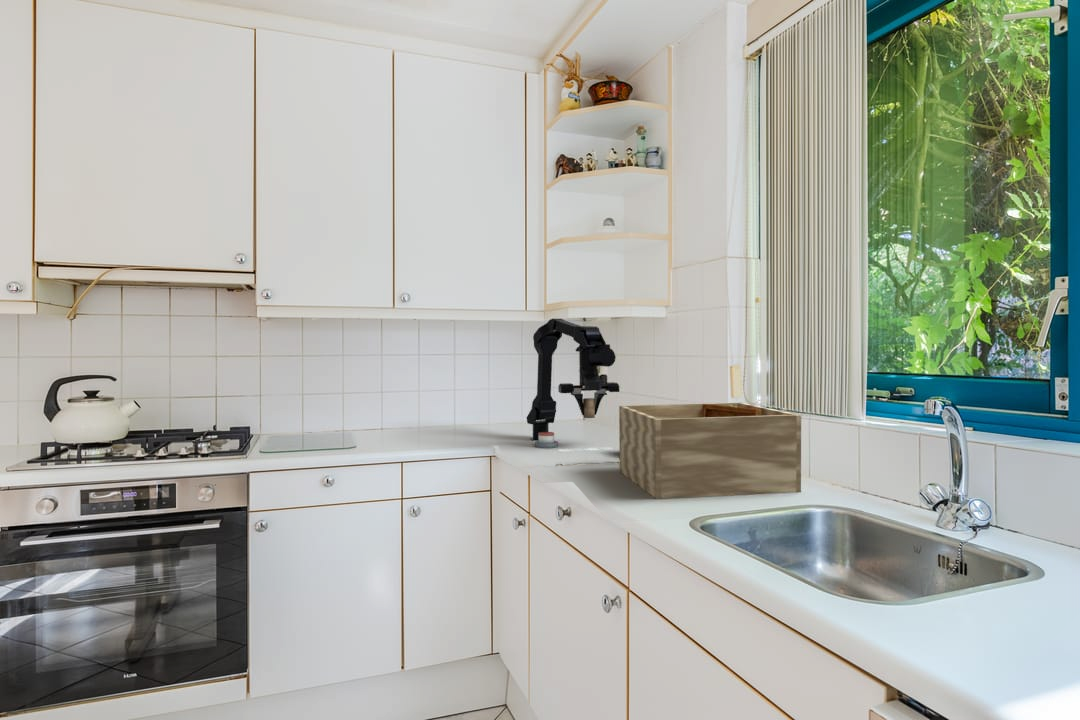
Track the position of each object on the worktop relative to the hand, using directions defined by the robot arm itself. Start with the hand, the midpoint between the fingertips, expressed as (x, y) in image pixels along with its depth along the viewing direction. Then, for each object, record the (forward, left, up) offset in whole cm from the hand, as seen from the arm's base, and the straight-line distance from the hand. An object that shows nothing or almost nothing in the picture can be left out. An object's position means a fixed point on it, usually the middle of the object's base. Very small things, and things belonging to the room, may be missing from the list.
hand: (589, 414), depth 193 cm
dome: (-8, -13, -10) cm, 18 cm away
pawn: (0, 0, -1) cm, 1 cm away
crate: (+43, +19, -12) cm, 49 cm away
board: (-4, -5, -12) cm, 14 cm away
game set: (+42, +21, -13) cm, 48 cm away
